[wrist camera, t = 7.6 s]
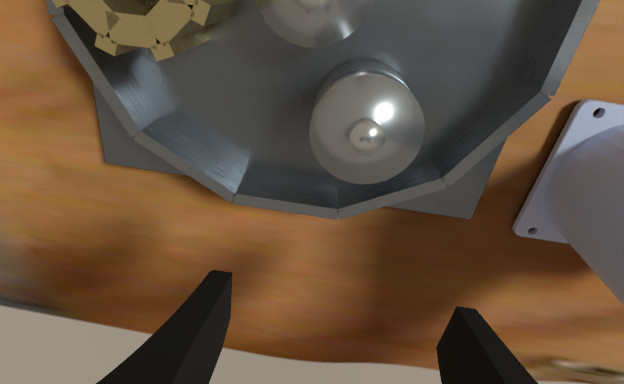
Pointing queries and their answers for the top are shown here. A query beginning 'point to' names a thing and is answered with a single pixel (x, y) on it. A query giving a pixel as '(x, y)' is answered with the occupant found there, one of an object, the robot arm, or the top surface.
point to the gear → (150, 23)
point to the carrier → (336, 99)
